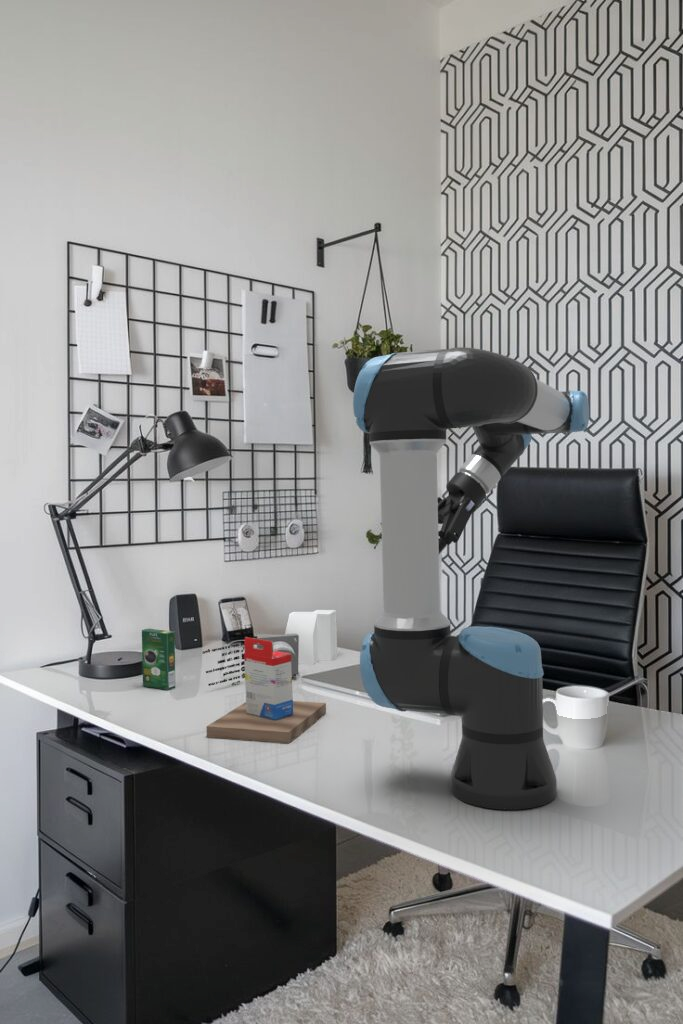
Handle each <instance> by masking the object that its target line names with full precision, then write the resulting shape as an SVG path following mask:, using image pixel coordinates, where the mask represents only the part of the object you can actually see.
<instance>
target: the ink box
mask: <svg viewBox="0 0 683 1024" xmlns="http://www.w3.org/2000/svg"><path fill="white" fill-rule="evenodd" d="M258 643H259V644H260V645H263V649H259V648H257V647H255V645H256V646H257V644H258ZM244 644H245V645H244V652H243V654H244V659H243V661H244V665H243V666H245V671H244V673H245V678H244V685H245V686H244V687H245V702H246V712H247V713H249V714H253V715H257V716H261V717H265V718H269V719H273V720H277V719H280V718H283V717H287V716H290V715H293V701H294V698H293V694H294V693H293V676H292V672H291V653H284V652H277V651H273V642H272V641H268V640H262V639H257V637H256V638H255V637H248V636H245V637H244Z"/></svg>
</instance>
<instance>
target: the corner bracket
mask: <svg viewBox="0 0 683 1024" xmlns="http://www.w3.org/2000/svg"><path fill="white" fill-rule="evenodd" d="M337 632H338V631H337V610H336V609H315V610H314V611H292V612H290V613H289V615H288V619H287V624H286V628H285V633H284V634H295V633H296V634H298V635H299V654H298V665H311V666H313V665H315V664H316V663H317V662H319V661H321V662H322V661H323V662H324V661H325V662H332V661H333V660H334V659H335V658H336V657H337V656H338V640H337V639H338V637H337V636H338V633H337Z"/></svg>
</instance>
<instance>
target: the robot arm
mask: <svg viewBox="0 0 683 1024" xmlns="http://www.w3.org/2000/svg"><path fill="white" fill-rule="evenodd" d="M352 398H353V399H352V401H353V402H352V407H353V408H352V409H353V415H354V417H355V418H356V419H355V420H356V421H355V423H356V425H357V427H358V428H359V430H360V431H362V432H363V433H365V434H368V436H369V439H368V440H369V442H368V443H369V445H370V446H371V448H373V449H374V450H375V451H376V452H377V453H378V455H379V473H380V474H379V475H380V476H379V477H380V478H379V479H380V480H379V481H380V514H381V515H380V517H381V521H380V522H381V550H382V551H381V552H382V553H381V559H382V592H383V593H382V594H383V595H382V597H383V599H382V600H383V601H382V602H383V611H382V613H381V614H380V615H379V617H377V618H376V620H375V621H374V622H373V631H370V632H369V633H367V635H365V637H364V639H363V642H362V644H361V648H362V651H360V654H359V669H360V670H359V671H360V677H361V681H362V684H363V687H364V690H365V692H366V693H367V696H368V697H369V698H370V699H371V701H372V702H373V703H375V704H376V705H378V706H379V707H382V708H386V709H387V708H388V709H394V710H396V711H399V712H407V711H408V712H417V713H418V712H419V713H428V714H436V715H446V716H457V717H460V718H461V740H460V744H459V745H458V746H459V747H458V750H457V754H456V756H455V760H454V762H453V766H452V770H451V774H450V786H451V787H450V790H451V792H452V794H453V796H454V797H456V798H457V799H459V800H460V801H463V802H464V803H467V804H470V805H472V806H476V807H477V806H478V807H480V808H481V807H482V808H485V809H486V808H487V809H492V810H493V809H494V810H507V811H508V810H510V811H511V810H512V811H513V810H524V809H532V808H537V807H541V806H544V805H546V804H548V803H550V802H551V801H553V800H554V799H555V798H556V796H557V793H558V792H557V791H558V790H557V777H556V776H557V775H556V773H555V769H554V767H553V764H552V762H551V759H550V755H549V753H548V749H547V747H546V744H545V740H544V706H543V705H544V704H543V702H544V696H543V693H544V692H543V690H544V689H543V688H544V687H543V676H544V675H545V673H544V669H543V664H542V663H543V662H542V651H541V647H540V644H539V643H538V641H536V640H535V639H534V638H533V637H531V636H529V635H527V634H525V633H523V632H520V631H516V630H512V629H509V628H508V629H507V628H503V627H495V626H478V625H477V626H476V625H475V626H467V627H464V628H462V629H461V630H460V632H459V635H457V636H455V635H452V633H451V621H450V620H449V618H448V617H446V615H445V614H443V612H442V611H441V596H440V595H441V592H440V555H441V554H442V552H443V551H444V550H445V549H446V547H447V546H449V545H451V544H452V543H454V544H456V543H457V542H458V541H459V540H460V538H461V536H462V534H463V532H464V530H465V528H466V525H467V524H468V522H469V520H470V518H471V516H472V514H473V513H474V512H475V510H476V509H478V507H479V506H480V505H481V504H482V503H483V501H484V500H485V499H486V497H487V495H488V494H490V492H491V491H492V490H493V489H496V488H497V484H498V483H499V482H500V481H501V479H502V477H504V475H506V473H507V472H508V470H510V468H511V467H512V466H513V465H514V463H516V461H517V460H518V459H519V458H520V457H521V456H522V455H523V454H524V453H525V451H526V449H527V448H528V446H529V444H531V442H532V438H533V436H532V435H534V434H535V435H536V434H537V435H538V434H539V435H541V434H543V435H544V434H572V433H578V432H580V433H581V432H583V431H585V430H586V429H587V427H588V425H589V420H590V405H589V398H588V395H587V394H586V392H584V391H582V390H572V389H569V390H566V391H560V390H557V389H556V388H554V387H552V386H550V385H549V384H547V383H545V382H543V381H541V380H540V379H537V377H536V375H535V374H534V373H533V371H532V370H531V369H530V368H529V367H528V366H527V365H526V364H524V363H522V362H520V361H519V360H516V359H514V358H512V357H509V356H506V355H505V354H500V353H498V352H493V351H490V350H486V349H481V348H476V347H475V348H473V347H463V346H462V347H461V346H460V347H450V348H445V349H444V348H443V349H431V350H430V349H429V350H419V351H418V350H417V351H415V350H414V351H403V352H402V351H401V352H393V353H391V354H386V355H379V356H375V357H372V358H371V359H369V360H368V361H366V362H365V364H364V365H363V366H362V369H360V371H359V373H358V376H357V377H356V382H355V385H354V390H353V397H352ZM468 427H471V428H472V430H473V432H474V434H475V436H476V438H477V440H478V443H479V444H478V446H477V448H476V449H475V450H474V451H473V453H472V454H470V455H469V457H468V458H467V459H466V461H464V462H463V463H462V465H460V467H459V468H458V472H455V474H454V475H453V476H452V477H451V479H450V480H449V481H448V482H447V483H446V487H445V488H446V490H447V492H448V496H446V497H445V498H441V497H440V496H439V497H438V463H437V462H438V461H437V460H438V459H437V454H438V452H439V451H440V450H441V449H442V448H443V446H444V445H445V444H446V443H447V430H448V429H458V428H460V429H461V428H462V429H463V428H468ZM439 524H440V525H441V528H440V530H439Z"/></svg>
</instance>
